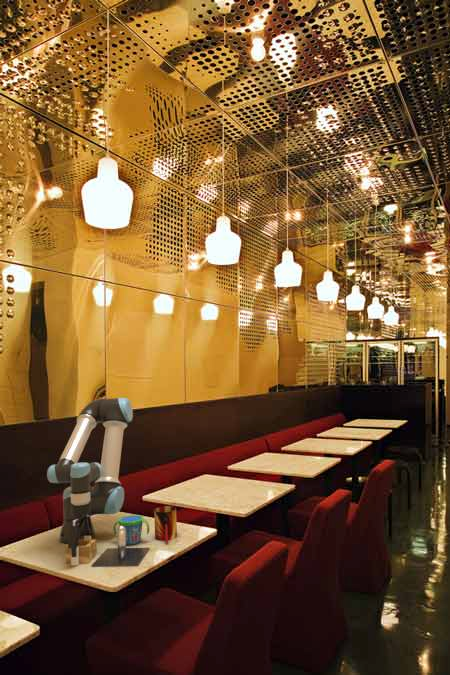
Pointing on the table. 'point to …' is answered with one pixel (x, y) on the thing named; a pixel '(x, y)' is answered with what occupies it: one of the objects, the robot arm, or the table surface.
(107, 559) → the post stand
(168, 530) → the mug
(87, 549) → the square wooden frame
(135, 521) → the snack cup
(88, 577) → the table surface
